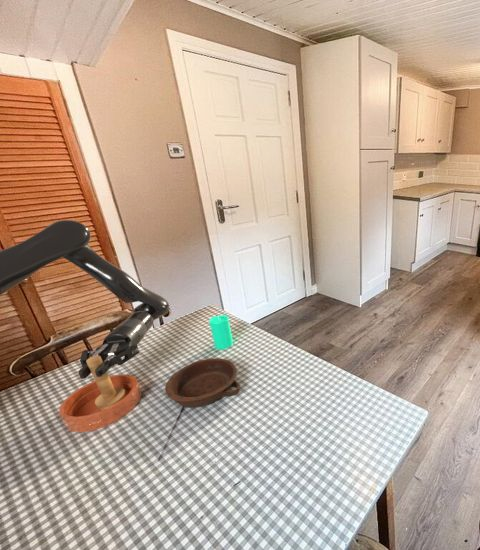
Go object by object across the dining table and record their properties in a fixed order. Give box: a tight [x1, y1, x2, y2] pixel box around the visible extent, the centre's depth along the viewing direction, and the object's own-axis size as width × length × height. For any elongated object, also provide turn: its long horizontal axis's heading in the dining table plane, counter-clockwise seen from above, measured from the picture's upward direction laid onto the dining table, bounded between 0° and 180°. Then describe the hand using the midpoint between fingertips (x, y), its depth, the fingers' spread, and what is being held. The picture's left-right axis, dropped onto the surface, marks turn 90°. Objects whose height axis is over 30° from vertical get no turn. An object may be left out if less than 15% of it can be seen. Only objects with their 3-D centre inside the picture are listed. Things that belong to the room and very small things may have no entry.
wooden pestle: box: [86, 356, 127, 411], centre depth 79 cm, size 6×6×14 cm
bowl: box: [58, 373, 143, 433], centre depth 80 cm, size 16×16×5 cm
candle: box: [208, 314, 234, 350], centre depth 105 cm, size 6×6×12 cm
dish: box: [164, 357, 241, 409], centre depth 86 cm, size 18×22×5 cm
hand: (89, 374), depth 74 cm, fingers closed on wooden pestle, 3 cm apart
